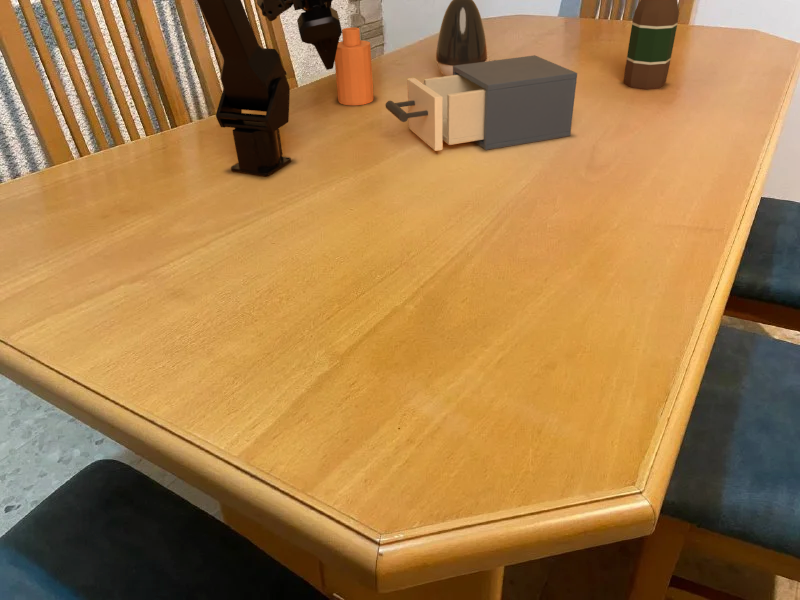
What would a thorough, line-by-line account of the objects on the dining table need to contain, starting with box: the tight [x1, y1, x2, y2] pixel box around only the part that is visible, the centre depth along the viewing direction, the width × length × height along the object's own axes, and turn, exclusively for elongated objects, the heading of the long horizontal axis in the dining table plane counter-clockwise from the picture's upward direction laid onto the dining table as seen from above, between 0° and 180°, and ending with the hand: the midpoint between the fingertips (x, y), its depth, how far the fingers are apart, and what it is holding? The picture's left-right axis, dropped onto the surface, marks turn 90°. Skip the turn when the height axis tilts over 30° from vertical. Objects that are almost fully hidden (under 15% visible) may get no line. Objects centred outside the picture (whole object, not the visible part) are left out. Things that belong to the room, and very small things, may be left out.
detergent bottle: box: [334, 27, 374, 106], centre depth 116 cm, size 7×7×12 cm
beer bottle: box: [623, 0, 680, 90], centre depth 115 cm, size 8×8×24 cm
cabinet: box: [453, 54, 578, 151], centre depth 100 cm, size 15×13×10 cm
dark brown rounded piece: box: [435, 0, 488, 76], centre depth 126 cm, size 10×10×15 cm
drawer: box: [385, 74, 486, 152], centre depth 97 cm, size 18×11×8 cm, turn 109°
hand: (326, 55), depth 106 cm, fingers open, 9 cm apart
